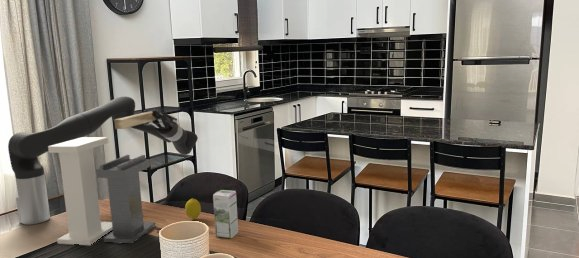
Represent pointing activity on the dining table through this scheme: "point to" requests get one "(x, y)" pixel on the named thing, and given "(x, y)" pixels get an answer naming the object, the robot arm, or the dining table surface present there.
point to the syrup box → (225, 213)
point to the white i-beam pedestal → (81, 190)
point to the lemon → (193, 208)
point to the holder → (125, 198)
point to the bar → (134, 120)
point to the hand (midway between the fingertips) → (148, 112)
